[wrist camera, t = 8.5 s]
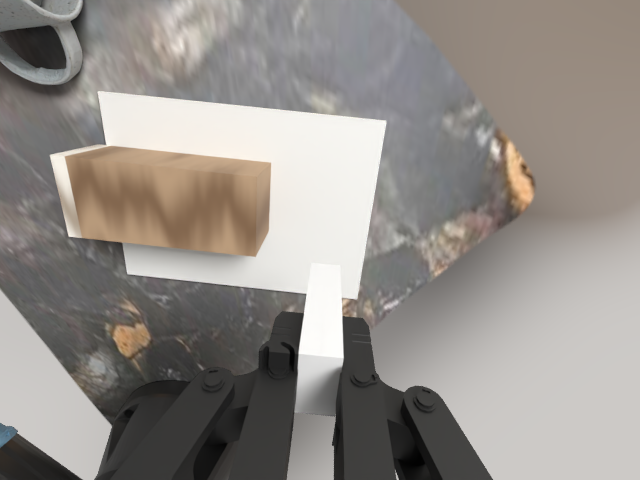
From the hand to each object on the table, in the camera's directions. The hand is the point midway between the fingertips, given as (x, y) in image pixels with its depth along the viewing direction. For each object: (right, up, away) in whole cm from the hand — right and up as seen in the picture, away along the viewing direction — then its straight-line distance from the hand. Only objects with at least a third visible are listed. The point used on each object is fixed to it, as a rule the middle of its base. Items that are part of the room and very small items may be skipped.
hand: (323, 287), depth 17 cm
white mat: (-7, +5, +11) cm, 14 cm away
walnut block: (-5, +5, +8) cm, 11 cm away
